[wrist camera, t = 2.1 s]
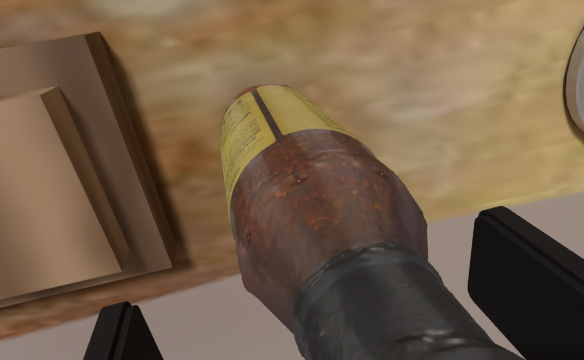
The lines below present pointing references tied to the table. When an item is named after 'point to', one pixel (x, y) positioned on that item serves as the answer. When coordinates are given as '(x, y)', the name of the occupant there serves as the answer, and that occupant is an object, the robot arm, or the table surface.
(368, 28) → the table surface
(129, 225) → the pedestal
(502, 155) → the table surface
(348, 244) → the sauce bottle
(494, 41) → the table surface
